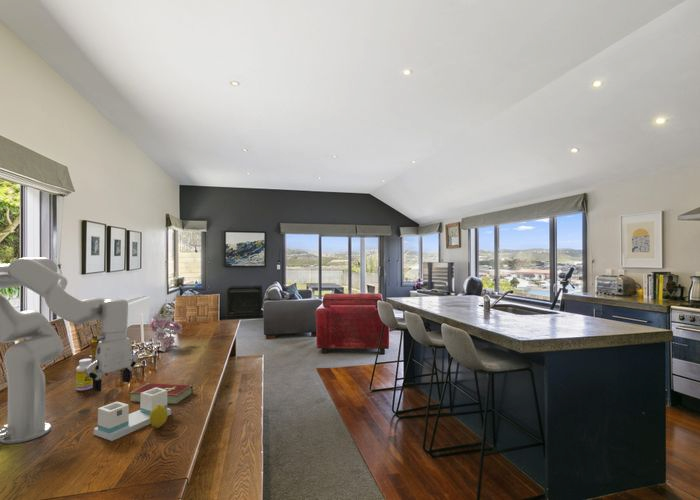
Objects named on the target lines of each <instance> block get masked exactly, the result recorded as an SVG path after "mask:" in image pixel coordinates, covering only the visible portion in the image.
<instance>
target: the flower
mask: <svg viewBox="0 0 700 500" xmlns="http://www.w3.org/2000/svg"><path fill="white" fill-rule="evenodd" d="M162 315H163V314H162V313H160V314H158V312H157V313H155V314H154V315H153V317H151V318H150V320H151V321H147V324H148V328H149V329H151V332H152V333H154V335H155V336H156V337H155V340H156V341H158V342H159V341H160V342H161V343H162V347H160V348H159V350H158V351H161V352H163V353H166V351H167V347H173V346H174V345H173V344H175V343H176V342H175V338H176V337H175V336H176V335H177V334H178V335H179V334H181V335H182V334H183V332H182V330H183V325H182V324H181V323H179V322H176V321H172V320H173V319H172V317H167V315H166V316H165V318H164V316H162ZM167 334H168V336H167ZM173 335H175V336H173Z"/></svg>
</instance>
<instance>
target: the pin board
mask: <svg viewBox="0 0 700 500" xmlns="http://www.w3.org/2000/svg"><path fill="white" fill-rule="evenodd" d="M166 410H167V417H168V416H171V415H172V409H171V408H169V407H167V409H166ZM148 425H152V424H151V423H150V415H149V414H146V413H143V412H140V409H139V410H136V411H133V412H131V413H129V425H128V426H125V427H123V428H121V429H118V430H116V431H114V432H111V433H107V432H104V431H101V430H98V426H96V427H94V428H93V435H94V436H97V437H100V438H101V439H105V440H107V441H111V442H113V441H115V440H117V439H120V438H122V437H124V436H126V435H129V434H131V433H133V432H135V431H137V430H140V429H142V428H144V427H146V426H148Z"/></svg>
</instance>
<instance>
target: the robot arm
mask: <svg viewBox="0 0 700 500" xmlns="http://www.w3.org/2000/svg"><path fill="white" fill-rule="evenodd" d="M67 285H68V279H67V278H66V277H65V276H63V275H61V274H59V272H58V266H57V264H56V262H54V260H52V259H50V258H47V257H42V256H41V257H37V256H35V257H20V258H17V259H14V260H13V261H11V262H10V263H0V290H1V289H9V288H15V287H16V288H17V287H22V286H24V287H25V288H27V289H28V290H30V291H32V292H33V293H35V294H37V295H38V296H40V297H42V298H44V302H45V304H46V306H47V308H48V309H49V310H50V311H51V312H52V313H53V314H54V315H56V316H57V317H59V318H62V319H63V320H65V321H66V322H69V323H70V324H71V323H72V324H75V325H83V324H87V323H89V322H93V321H98V320H101V321H100V323H101V324H100V334H97V335H98V336H97V339H100V340H101V341H99V343H98V346H97V350H96V356H95V357H94V358H95V359H94V361H93V362H91V364H90V365H89V366H87V367H86V368H85V369H84V370H85V372H86V373H87V375H88V376H89V377H91V378H92V379H93V388H92V390H93V391H95V392H96V393H97V392H98V393H99V392H102V379H101V377H103V375H104V374H107V373H111V372H114V371H115V372H116V371H119V370H122V369H123V370H122V382H123V383H127V384H128V383H130V382H131V377H132V375H131V373H132V371H133V368H134V367H135V365H136V364H137V361H138V359H139V355H137V354H133V353H132V346H131V345H132V344H131V340H130V337H128V318H129V317H128V316H129V312H128V311H129V303H128V301H127V300H126V299H119V298H118V299H117V298H115V299H113V298H112V299H109V298H104V297H93V298H87V299H81V300H79V299H78V298H75V297H74V296H72V295H70V294H69V293H67V291H65V290H66V287H67ZM23 339H24V340H23ZM20 340H22V341H20ZM18 341H19V342H18ZM13 342H17V343H15V344H13V345H12V346H10V347H9V348H8V349H7V350H6V351H5V353H4V356H3V363H4V367H5V371H6V376H7V377H6V378H7V421H6V422H7V423H6V424H3V428H1V429H0V442H1V443H3V444H19V443H20V444H21V443H25V442H28V441H32V440H35V439H37V438H40V437H43V436H44V435H46V434H47V433H49V432H50V430H51V428H52V427H51V426H52V425H51V424H50V423H48V422H46V375H45V373H44V371H43V370H42V368H41V365H44V364H46V363H49V362H52V361H54V360H55V359H57V358H59V357H60V356H61V355H62V354H63V351H64V341H63V340H62V338H61V337H60V335H59V334H58V332H57V331H56V330H55V328H54V327H53V325H52V323H50V322H49V320H48V318H46V316H45V315H43V314H42V313H40V312H38V311H36V310H24V311H17V310H16V309H15V308H14V306H12V303H10V301H9V300H8V299H7V298H6V297H5V296H3V295H1V294H0V343H2V344H8V343H13ZM93 368H94V373H93V372H92V369H93Z"/></svg>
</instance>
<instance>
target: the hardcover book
mask: <svg viewBox="0 0 700 500" xmlns="http://www.w3.org/2000/svg"><path fill="white" fill-rule="evenodd" d="M193 386H194V385H192V384H178V383H177V384H176V383H175V384H173V383H152V382H151V383H150V382H148V383H146V384H143V385H142V386H140V387H137V388H135V389H134V390H132V391H130V392H129V393H128V394H129V395H130V402H139V403H140V394H141V393H142V392H145V391H147V390H150V389H153V388H156V387H157V388H161V389H165V390H167V404H179V403H180V401H182V400H183V399H185V398H186V397H188V396H190V395H191V394H193V393H194V392H193V391H194V389H193V388H194V387H193Z"/></svg>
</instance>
